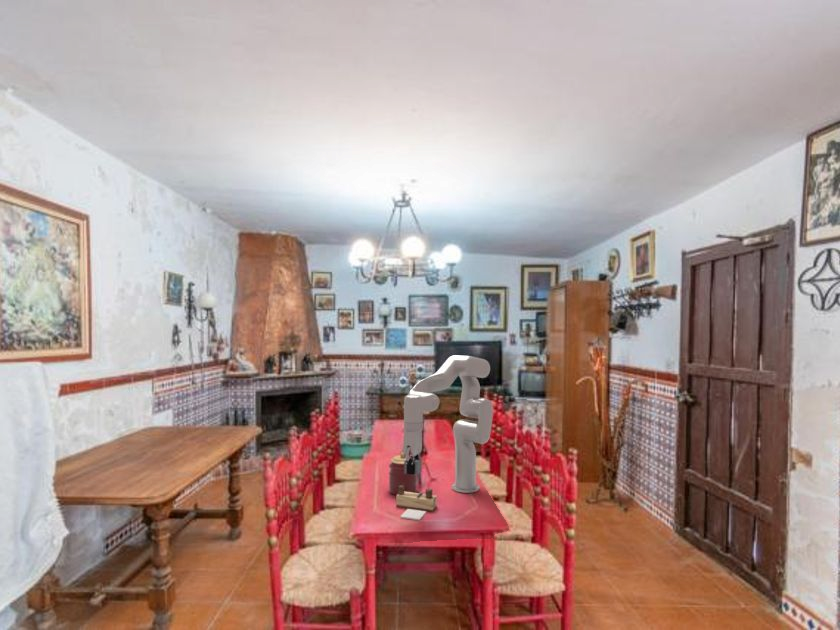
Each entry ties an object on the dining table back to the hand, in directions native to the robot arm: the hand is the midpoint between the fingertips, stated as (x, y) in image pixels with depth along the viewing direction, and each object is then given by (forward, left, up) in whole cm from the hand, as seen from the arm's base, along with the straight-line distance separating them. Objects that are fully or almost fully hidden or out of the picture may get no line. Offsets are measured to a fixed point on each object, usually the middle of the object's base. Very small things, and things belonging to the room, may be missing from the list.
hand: (413, 471), depth 186 cm
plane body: (-9, -2, -17) cm, 20 cm away
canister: (-24, -14, -18) cm, 33 cm away
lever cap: (0, 0, 0) cm, 0 cm away
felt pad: (0, 0, -17) cm, 17 cm away
